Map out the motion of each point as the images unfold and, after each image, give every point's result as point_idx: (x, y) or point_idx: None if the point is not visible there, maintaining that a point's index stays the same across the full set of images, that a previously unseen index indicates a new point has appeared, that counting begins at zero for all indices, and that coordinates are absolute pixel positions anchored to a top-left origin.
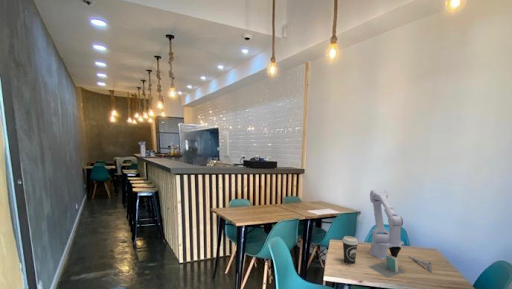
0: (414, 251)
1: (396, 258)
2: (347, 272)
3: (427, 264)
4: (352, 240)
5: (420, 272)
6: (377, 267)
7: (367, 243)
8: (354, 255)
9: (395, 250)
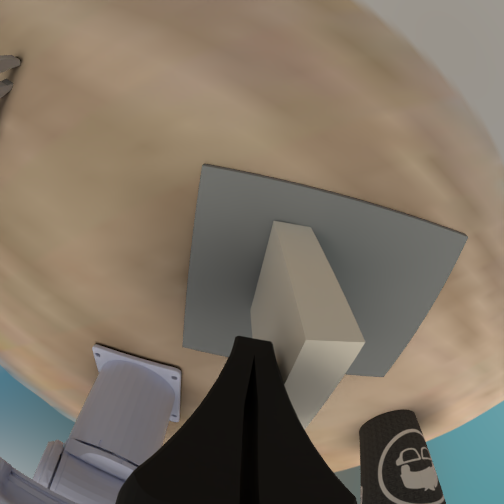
0: None
1: (323, 343)
2: (496, 374)
3: None
4: None
5: (68, 95)
6: None
7: None
8: (416, 455)
9: (353, 498)
